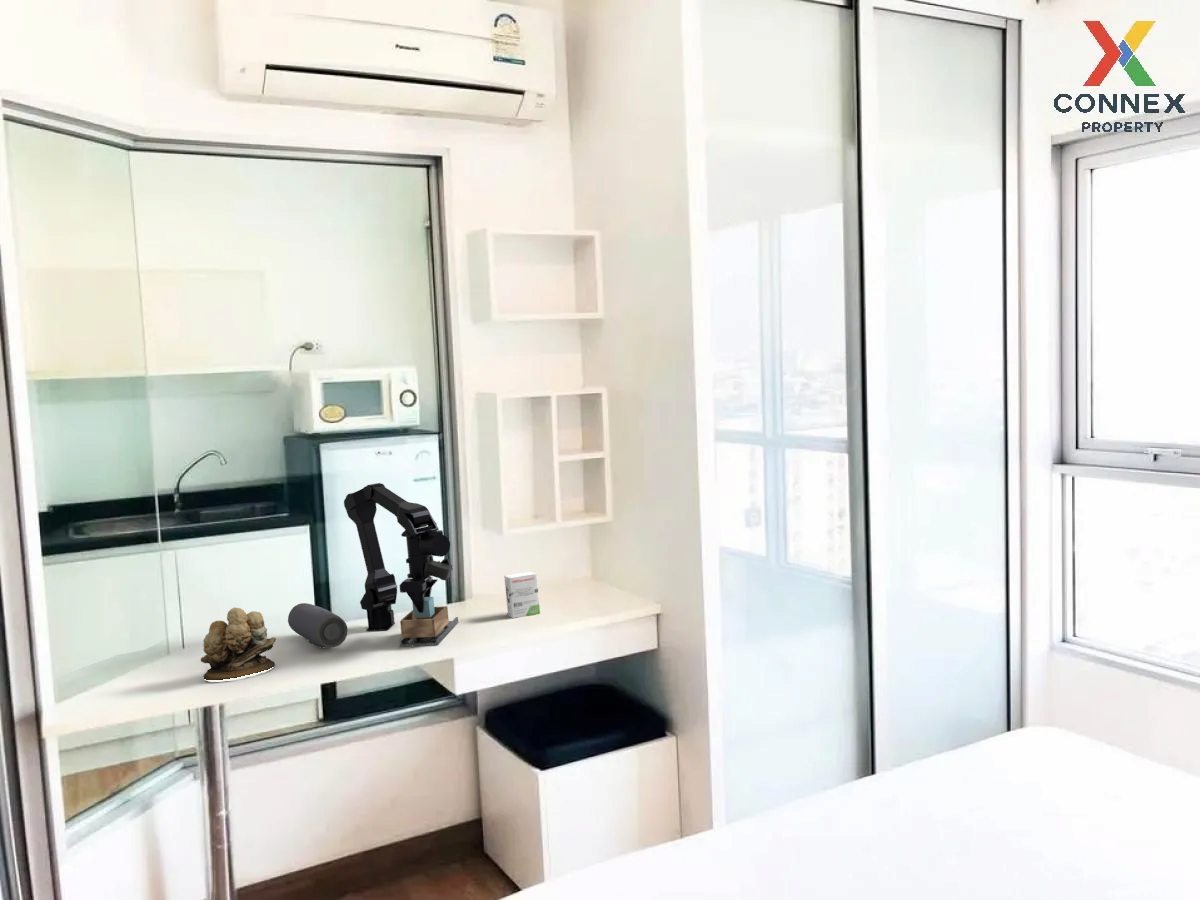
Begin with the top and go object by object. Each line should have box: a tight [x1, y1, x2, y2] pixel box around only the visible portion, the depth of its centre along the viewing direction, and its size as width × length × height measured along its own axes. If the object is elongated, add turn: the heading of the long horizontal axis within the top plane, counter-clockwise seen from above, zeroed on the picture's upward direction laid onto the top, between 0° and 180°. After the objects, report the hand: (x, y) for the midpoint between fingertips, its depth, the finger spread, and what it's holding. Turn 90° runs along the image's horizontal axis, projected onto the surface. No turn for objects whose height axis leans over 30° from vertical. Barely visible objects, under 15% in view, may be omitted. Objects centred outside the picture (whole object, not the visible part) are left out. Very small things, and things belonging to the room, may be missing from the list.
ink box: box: [504, 571, 541, 619], centre depth 278 cm, size 9×5×12 cm, turn 112°
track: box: [399, 616, 459, 647], centre depth 265 cm, size 10×21×2 cm, turn 174°
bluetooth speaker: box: [287, 602, 349, 649], centre depth 264 cm, size 23×9×10 cm, turn 37°
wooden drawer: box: [399, 605, 450, 641], centre depth 261 cm, size 9×13×6 cm
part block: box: [411, 596, 435, 618], centre depth 261 cm, size 4×4×4 cm
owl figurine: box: [200, 607, 277, 680], centre depth 242 cm, size 18×12×17 cm, turn 117°
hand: (423, 610), depth 261 cm, fingers closed on part block, 4 cm apart
